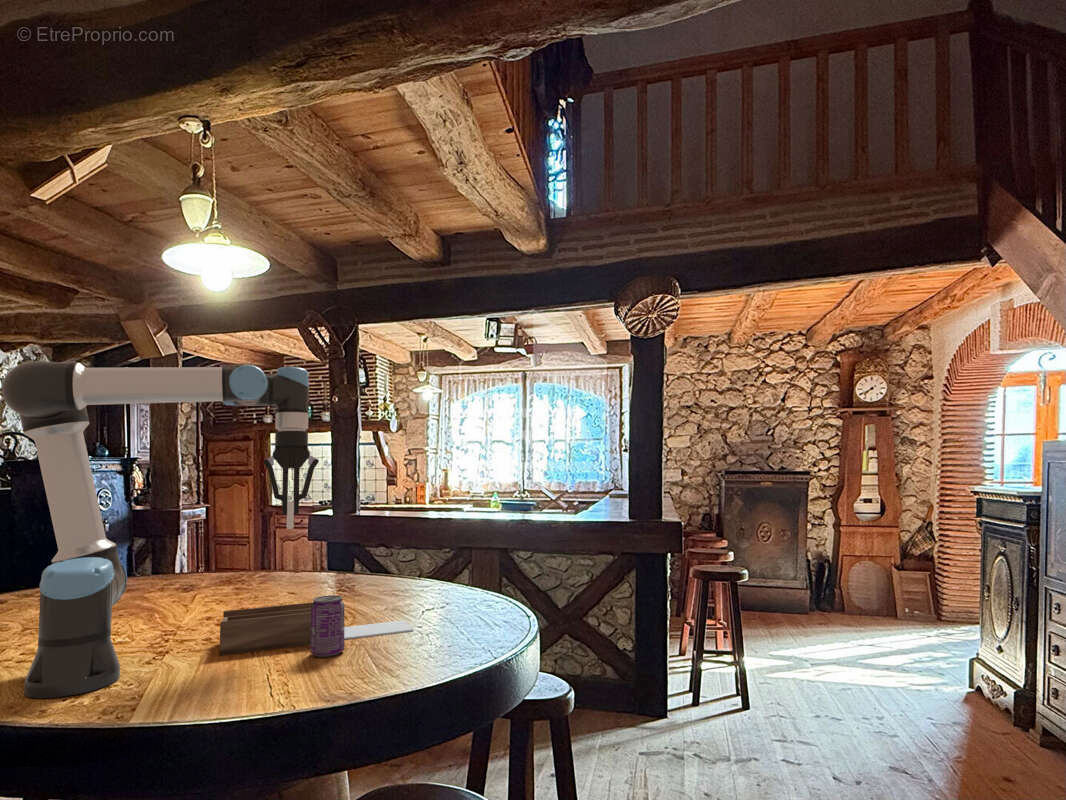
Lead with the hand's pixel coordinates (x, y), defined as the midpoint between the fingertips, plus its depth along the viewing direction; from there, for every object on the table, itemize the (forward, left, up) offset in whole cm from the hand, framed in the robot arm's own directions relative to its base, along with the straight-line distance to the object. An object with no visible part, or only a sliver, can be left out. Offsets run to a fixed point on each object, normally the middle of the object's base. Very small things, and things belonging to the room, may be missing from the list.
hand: (290, 528), depth 156 cm
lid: (0, -18, -27) cm, 32 cm away
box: (0, +3, -26) cm, 27 cm away
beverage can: (-16, -8, -27) cm, 32 cm away
